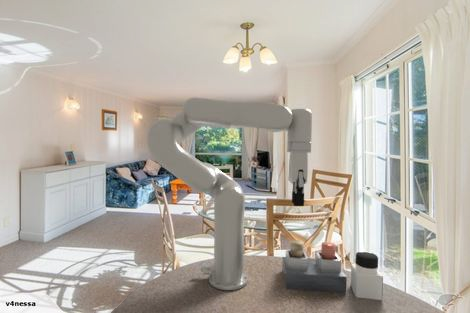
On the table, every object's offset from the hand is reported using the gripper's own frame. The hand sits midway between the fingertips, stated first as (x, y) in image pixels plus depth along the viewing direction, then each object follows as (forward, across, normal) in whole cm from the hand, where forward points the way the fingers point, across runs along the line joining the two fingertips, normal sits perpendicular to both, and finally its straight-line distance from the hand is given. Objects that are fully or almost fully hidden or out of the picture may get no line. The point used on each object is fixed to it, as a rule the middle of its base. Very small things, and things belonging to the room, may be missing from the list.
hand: (297, 203), depth 85 cm
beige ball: (+17, 0, 0) cm, 17 cm away
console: (+25, 0, +5) cm, 26 cm away
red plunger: (+17, 0, +10) cm, 20 cm away
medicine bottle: (+25, +5, +20) cm, 33 cm away
